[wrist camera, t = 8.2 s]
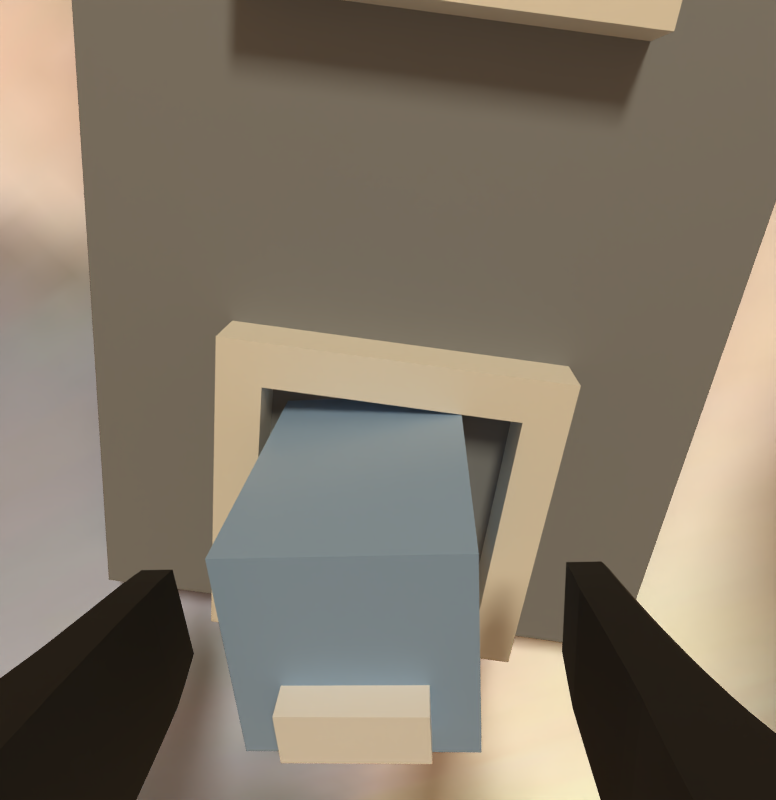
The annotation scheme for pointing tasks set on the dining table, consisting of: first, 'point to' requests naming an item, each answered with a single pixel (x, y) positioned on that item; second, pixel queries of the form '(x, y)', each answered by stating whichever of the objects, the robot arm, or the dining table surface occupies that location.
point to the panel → (421, 254)
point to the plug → (353, 587)
